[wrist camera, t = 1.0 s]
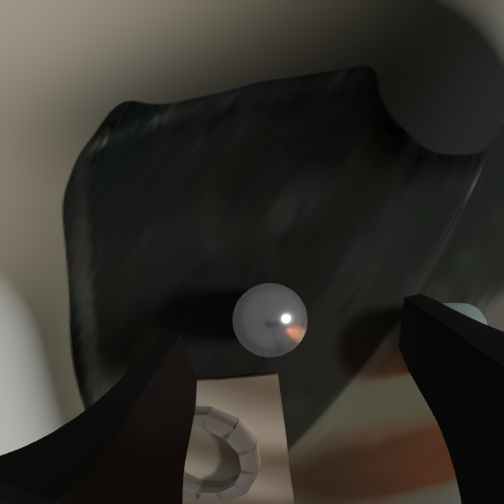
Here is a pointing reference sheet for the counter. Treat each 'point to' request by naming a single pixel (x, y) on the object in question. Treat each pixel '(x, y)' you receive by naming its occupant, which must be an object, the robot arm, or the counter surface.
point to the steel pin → (270, 320)
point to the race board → (260, 421)
